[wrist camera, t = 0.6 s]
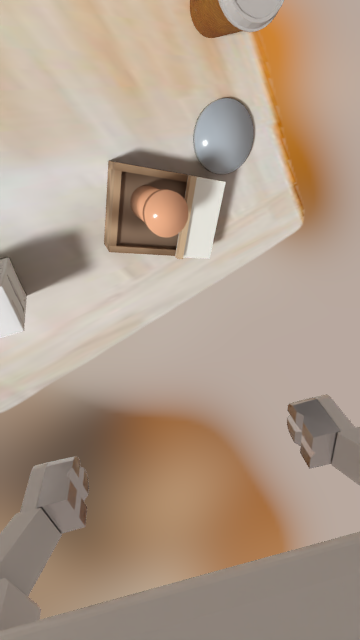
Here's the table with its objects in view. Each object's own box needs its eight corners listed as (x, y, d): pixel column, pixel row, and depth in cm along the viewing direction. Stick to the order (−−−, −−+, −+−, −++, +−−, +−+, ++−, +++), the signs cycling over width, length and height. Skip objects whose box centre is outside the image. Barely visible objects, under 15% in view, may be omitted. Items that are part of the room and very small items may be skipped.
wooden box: (108, 160, 47) (115, 162, 43) (209, 178, 55) (223, 181, 51) (104, 243, 53) (109, 252, 49) (196, 249, 60) (207, 257, 56)
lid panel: (186, 174, 48) (191, 175, 47) (223, 181, 51) (228, 182, 49) (173, 255, 54) (177, 258, 52) (207, 257, 56) (212, 260, 55)
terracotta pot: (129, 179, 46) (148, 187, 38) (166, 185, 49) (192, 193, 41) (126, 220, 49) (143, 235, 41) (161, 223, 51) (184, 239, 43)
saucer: (200, 90, 48) (203, 89, 47) (257, 108, 52) (260, 107, 51) (188, 168, 53) (190, 168, 52) (241, 178, 57) (244, 178, 56)
